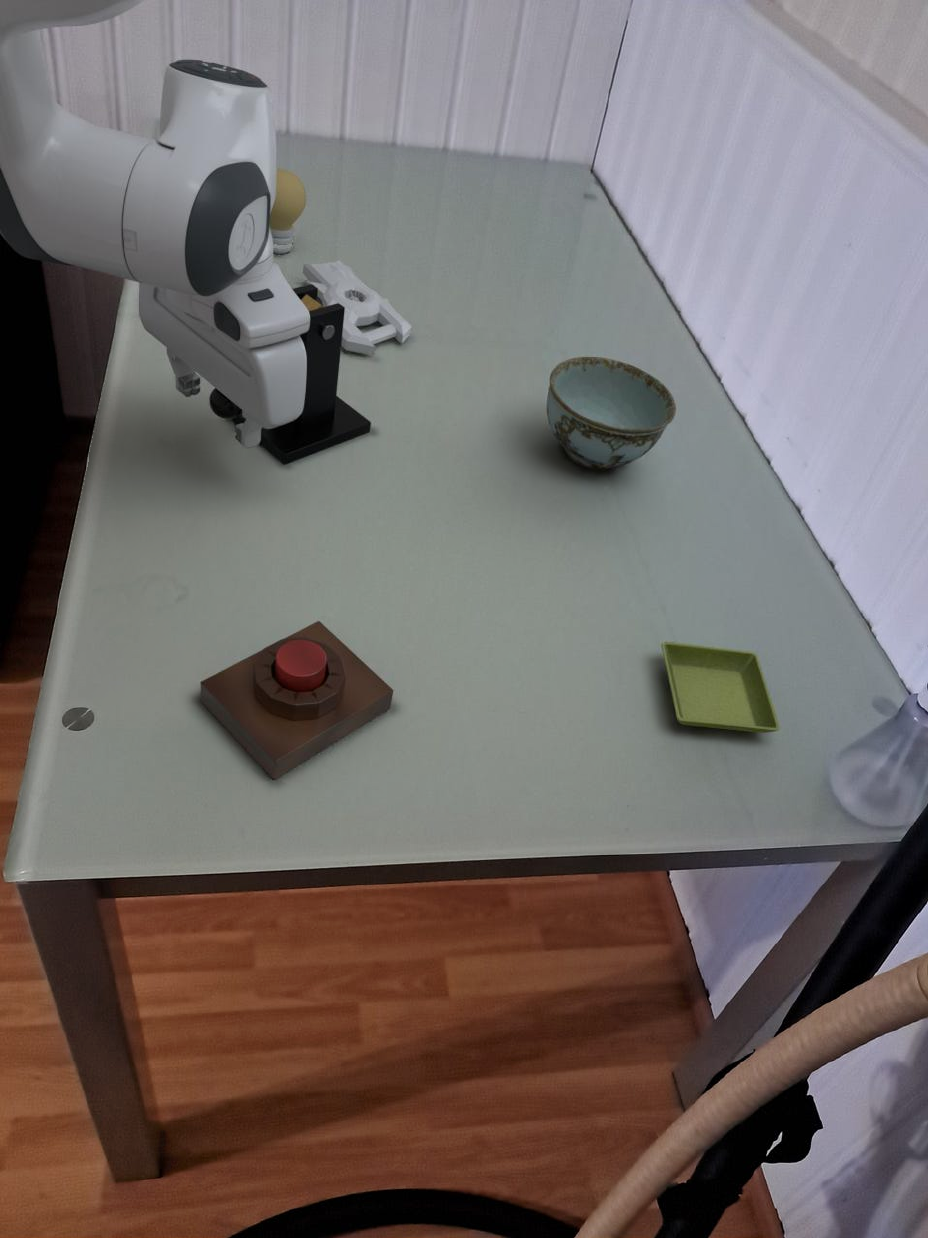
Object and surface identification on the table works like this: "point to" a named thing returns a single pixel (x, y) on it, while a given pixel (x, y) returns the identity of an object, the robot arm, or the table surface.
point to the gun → (356, 306)
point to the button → (300, 665)
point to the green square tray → (718, 688)
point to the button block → (295, 702)
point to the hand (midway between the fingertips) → (217, 416)
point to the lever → (226, 406)
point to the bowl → (606, 411)
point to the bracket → (317, 392)
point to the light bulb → (286, 208)
